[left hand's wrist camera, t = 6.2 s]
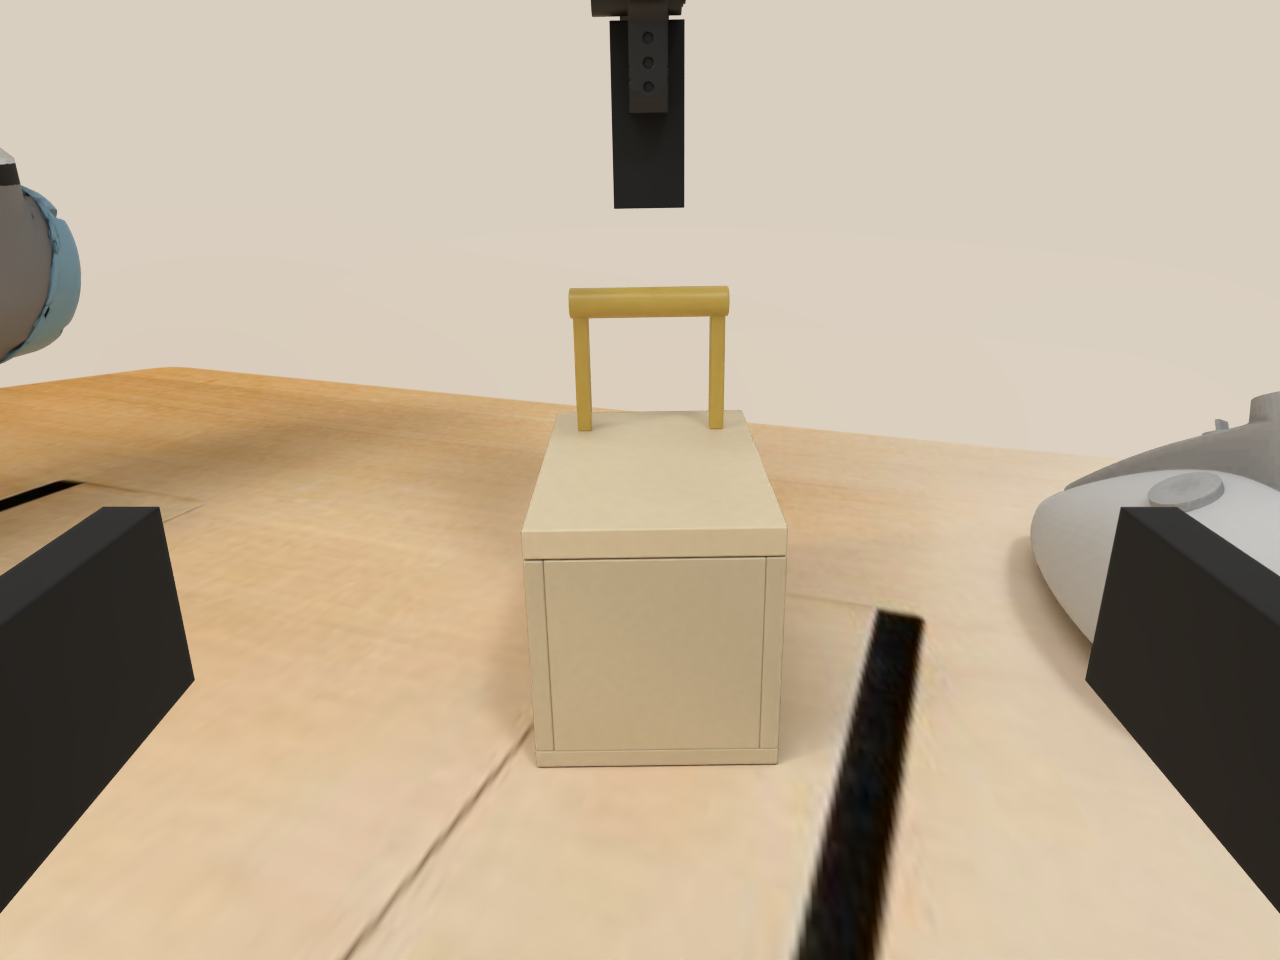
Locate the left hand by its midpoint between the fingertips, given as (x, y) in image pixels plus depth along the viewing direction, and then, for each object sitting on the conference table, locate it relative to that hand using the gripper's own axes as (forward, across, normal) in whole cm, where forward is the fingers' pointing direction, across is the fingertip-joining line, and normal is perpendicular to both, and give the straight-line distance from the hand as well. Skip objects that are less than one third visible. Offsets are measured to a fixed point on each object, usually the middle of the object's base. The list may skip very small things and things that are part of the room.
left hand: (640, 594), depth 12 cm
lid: (+27, +1, -9) cm, 29 cm away
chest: (+27, +1, -18) cm, 32 cm away
